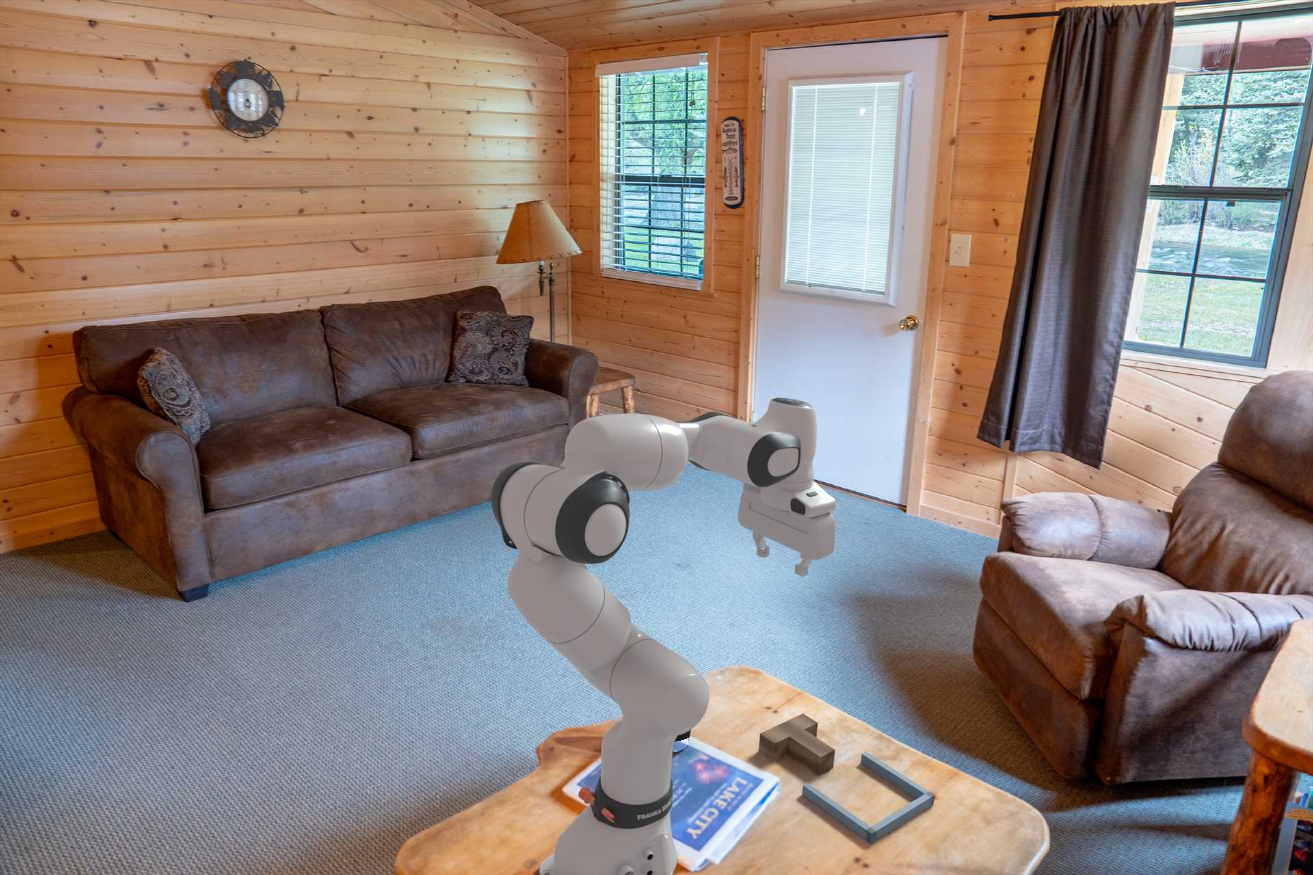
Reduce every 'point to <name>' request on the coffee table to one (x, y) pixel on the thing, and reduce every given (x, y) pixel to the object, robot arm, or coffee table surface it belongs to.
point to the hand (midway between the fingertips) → (781, 565)
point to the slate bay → (889, 823)
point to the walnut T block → (798, 744)
